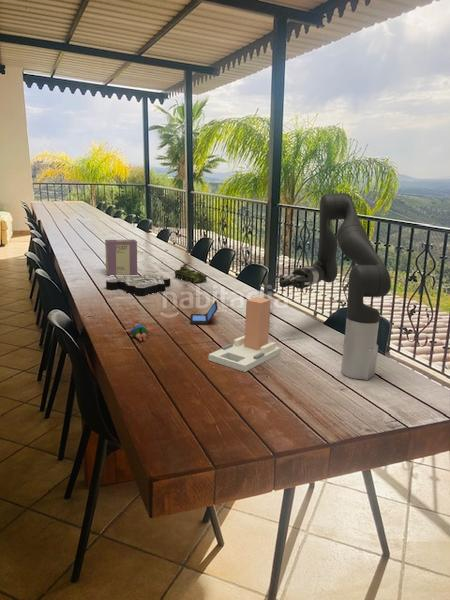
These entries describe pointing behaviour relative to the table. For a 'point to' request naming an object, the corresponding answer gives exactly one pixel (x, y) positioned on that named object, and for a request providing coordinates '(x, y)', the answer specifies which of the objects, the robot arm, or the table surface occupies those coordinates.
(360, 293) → the robot arm
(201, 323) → the object
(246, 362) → the white stand base
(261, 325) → the block
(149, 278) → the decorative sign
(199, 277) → the toy vehicle
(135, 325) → the toy character
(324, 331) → the table surface
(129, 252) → the box
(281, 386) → the table surface
